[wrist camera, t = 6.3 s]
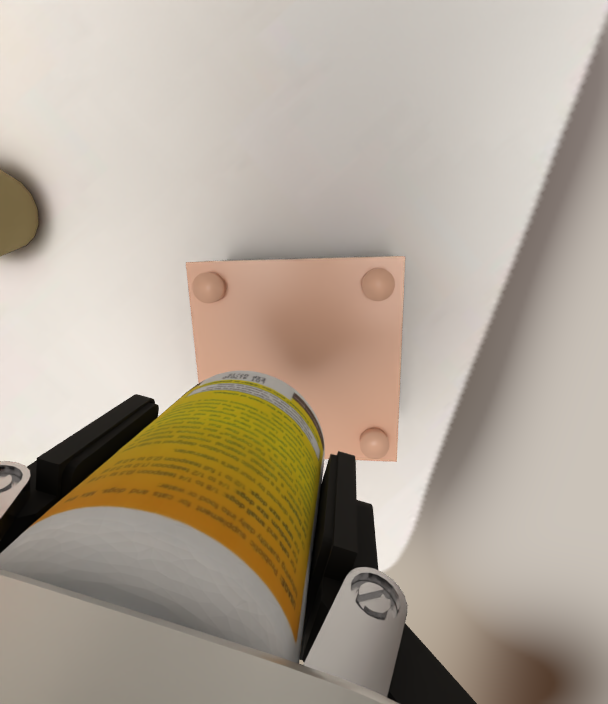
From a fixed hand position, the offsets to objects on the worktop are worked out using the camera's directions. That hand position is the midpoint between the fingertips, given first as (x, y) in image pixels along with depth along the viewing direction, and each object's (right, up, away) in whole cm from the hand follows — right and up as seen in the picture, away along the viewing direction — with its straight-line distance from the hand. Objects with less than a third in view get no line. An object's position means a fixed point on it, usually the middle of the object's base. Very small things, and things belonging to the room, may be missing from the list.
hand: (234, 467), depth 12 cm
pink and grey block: (+2, +5, +19) cm, 20 cm away
